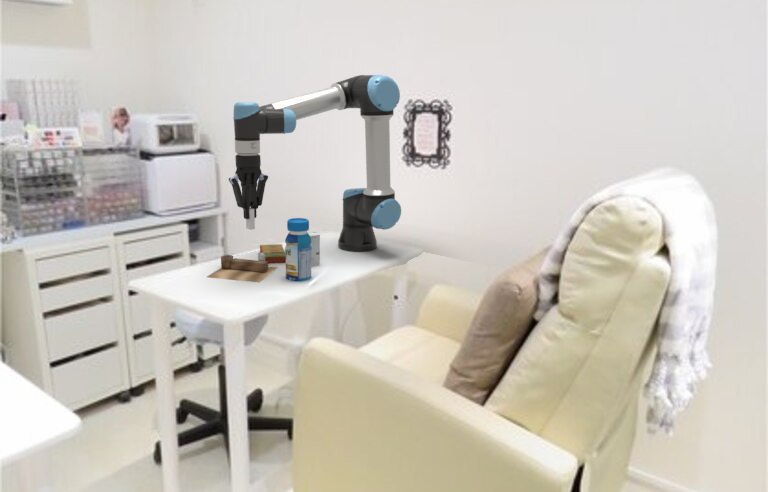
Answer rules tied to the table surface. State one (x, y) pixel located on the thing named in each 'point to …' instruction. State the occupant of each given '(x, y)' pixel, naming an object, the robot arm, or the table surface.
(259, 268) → the leg bar
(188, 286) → the table surface
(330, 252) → the table surface
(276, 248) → the carton
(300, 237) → the beverage bottle
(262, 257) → the stop peg
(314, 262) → the skincare box
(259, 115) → the robot arm
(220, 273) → the frame board
